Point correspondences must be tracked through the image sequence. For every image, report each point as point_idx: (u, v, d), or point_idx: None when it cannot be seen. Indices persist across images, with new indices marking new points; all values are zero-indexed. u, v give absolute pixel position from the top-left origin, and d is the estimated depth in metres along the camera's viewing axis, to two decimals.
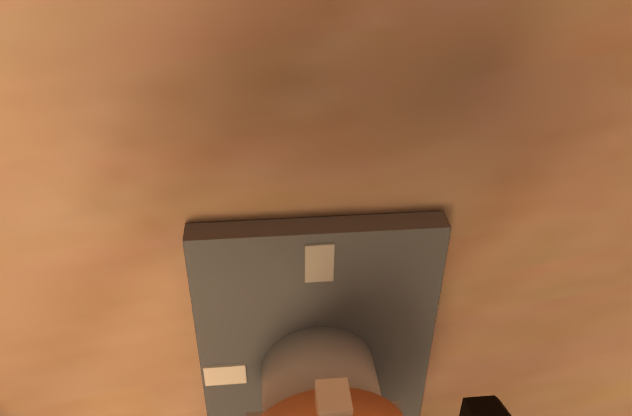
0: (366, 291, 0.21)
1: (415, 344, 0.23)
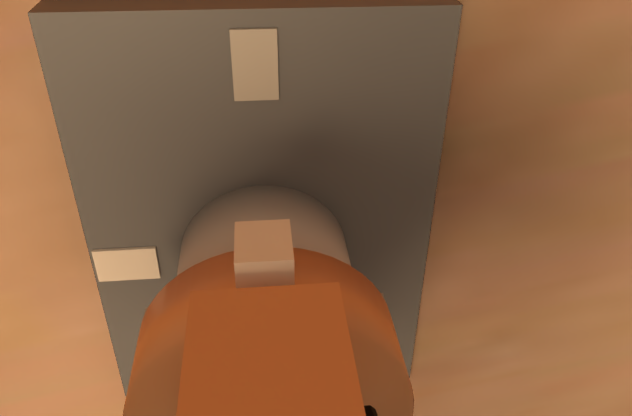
0: (331, 123, 0.14)
1: (408, 220, 0.16)
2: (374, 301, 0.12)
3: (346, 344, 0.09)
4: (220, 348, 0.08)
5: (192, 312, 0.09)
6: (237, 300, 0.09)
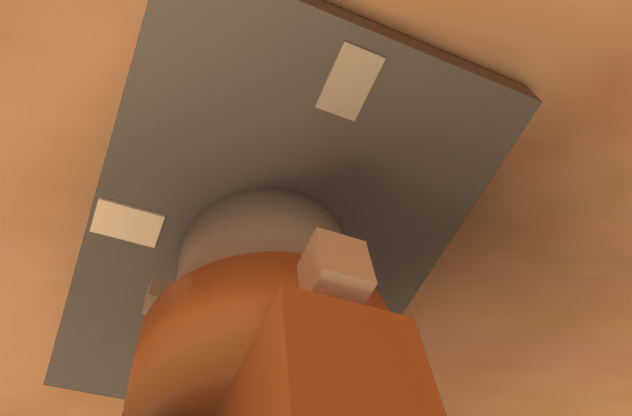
0: (387, 159, 0.14)
1: (406, 269, 0.16)
2: None
3: (430, 381, 0.09)
4: (320, 351, 0.08)
5: (286, 306, 0.09)
6: (326, 307, 0.09)
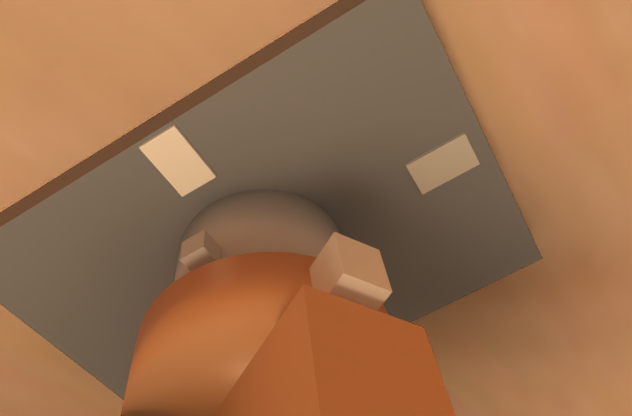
0: (417, 236, 0.16)
1: None
2: None
3: (442, 390, 0.09)
4: (342, 353, 0.09)
5: (309, 306, 0.09)
6: (345, 310, 0.10)
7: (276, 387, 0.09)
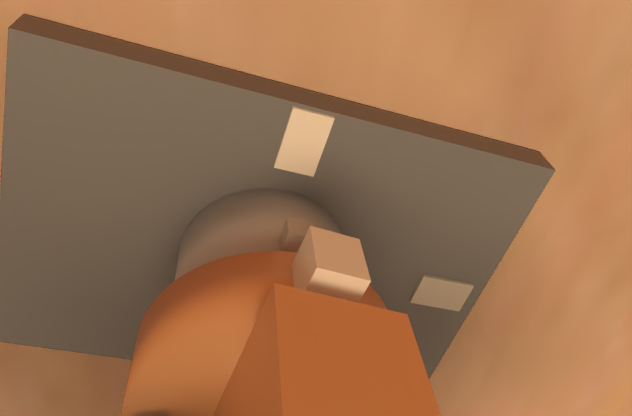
0: None
1: None
2: None
3: (423, 377, 0.09)
4: (312, 349, 0.08)
5: (279, 305, 0.09)
6: (319, 305, 0.09)
7: (253, 389, 0.09)
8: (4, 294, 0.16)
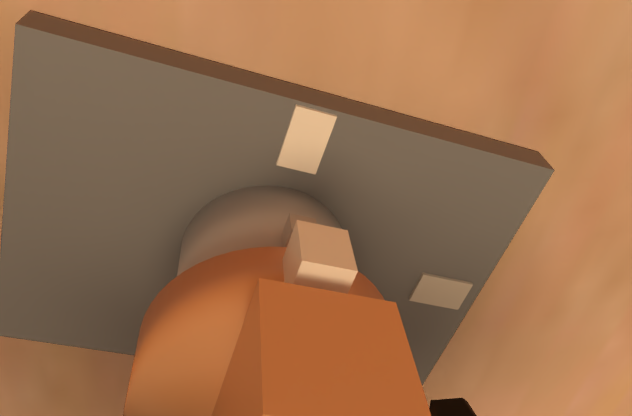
0: None
1: None
2: None
3: (410, 363, 0.09)
4: (296, 341, 0.09)
5: (263, 299, 0.09)
6: (304, 297, 0.09)
7: (242, 383, 0.09)
8: (7, 288, 0.16)
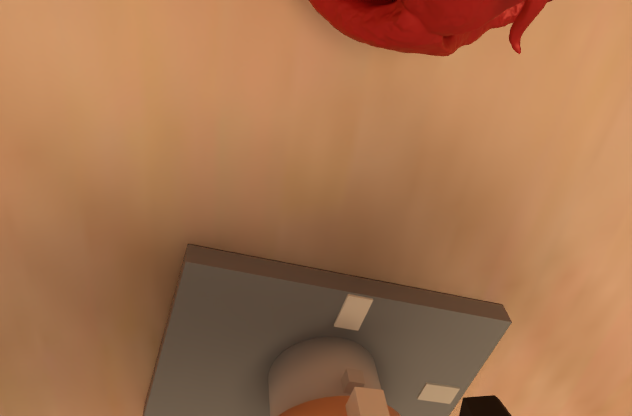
0: None
1: None
2: None
3: None
4: None
5: None
6: None
7: None
8: (154, 399, 0.24)
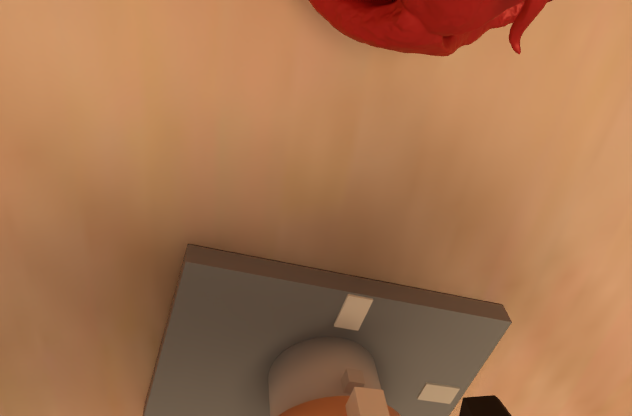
0: None
1: None
2: None
3: None
4: None
5: None
6: None
7: None
8: (154, 399, 0.24)
